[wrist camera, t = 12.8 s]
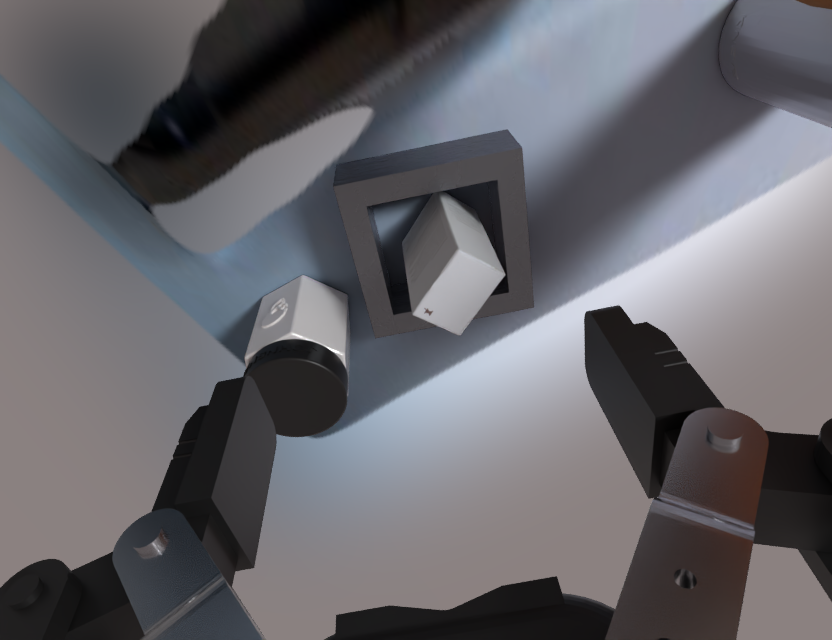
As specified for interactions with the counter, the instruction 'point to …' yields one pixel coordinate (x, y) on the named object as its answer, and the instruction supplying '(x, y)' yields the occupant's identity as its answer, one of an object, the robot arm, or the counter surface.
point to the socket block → (426, 174)
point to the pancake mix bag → (818, 3)
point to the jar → (301, 356)
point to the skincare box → (449, 264)
